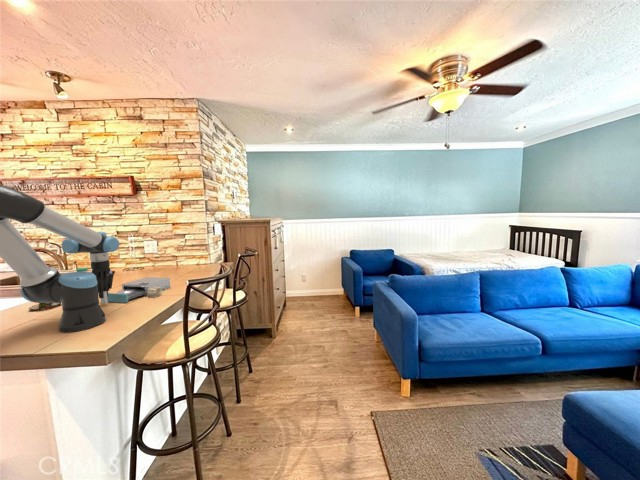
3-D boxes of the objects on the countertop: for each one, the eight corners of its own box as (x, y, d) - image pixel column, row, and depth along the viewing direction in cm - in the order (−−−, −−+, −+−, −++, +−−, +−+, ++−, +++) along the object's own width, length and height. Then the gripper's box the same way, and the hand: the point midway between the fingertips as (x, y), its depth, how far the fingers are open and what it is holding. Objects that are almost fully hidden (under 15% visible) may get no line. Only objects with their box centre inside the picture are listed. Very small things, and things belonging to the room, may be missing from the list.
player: (146, 296, 149) (145, 285, 149) (122, 295, 153) (121, 283, 152) (170, 288, 167) (169, 277, 166) (148, 287, 171) (147, 277, 170)
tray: (126, 302, 138) (125, 294, 137) (102, 301, 141) (101, 293, 141) (152, 293, 154) (151, 286, 153) (130, 292, 157) (129, 285, 157)
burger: (54, 303, 141) (52, 290, 140) (67, 305, 137) (65, 292, 136) (23, 311, 129) (21, 297, 129) (37, 313, 126) (35, 299, 125)
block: (155, 297, 146) (154, 289, 146) (148, 297, 147) (147, 289, 147) (162, 295, 151) (161, 287, 151) (155, 294, 152) (154, 287, 152)
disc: (137, 292, 148) (137, 290, 148) (122, 296, 141) (122, 293, 141) (130, 291, 151) (129, 288, 151) (114, 294, 144) (114, 291, 144)
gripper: (92, 263, 125) (96, 307, 127) (117, 258, 137) (121, 299, 140) (80, 262, 126) (85, 307, 129) (107, 258, 139) (111, 298, 141)
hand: (104, 303), depth 134 cm, fingers closed
